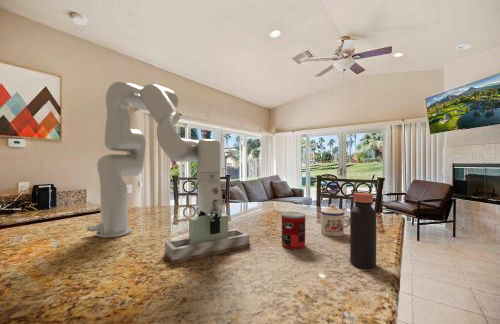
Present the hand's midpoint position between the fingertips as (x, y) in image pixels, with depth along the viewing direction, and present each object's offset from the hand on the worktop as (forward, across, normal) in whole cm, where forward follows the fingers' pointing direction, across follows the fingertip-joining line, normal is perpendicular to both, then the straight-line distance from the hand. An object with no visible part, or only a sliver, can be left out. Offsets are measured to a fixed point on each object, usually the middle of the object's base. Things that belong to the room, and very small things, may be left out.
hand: (208, 229), depth 82 cm
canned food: (+7, -12, -26) cm, 30 cm away
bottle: (+7, -34, -32) cm, 47 cm away
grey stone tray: (+7, 0, 0) cm, 7 cm away
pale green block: (+6, 0, 0) cm, 6 cm away
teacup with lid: (+7, -11, -50) cm, 52 cm away
